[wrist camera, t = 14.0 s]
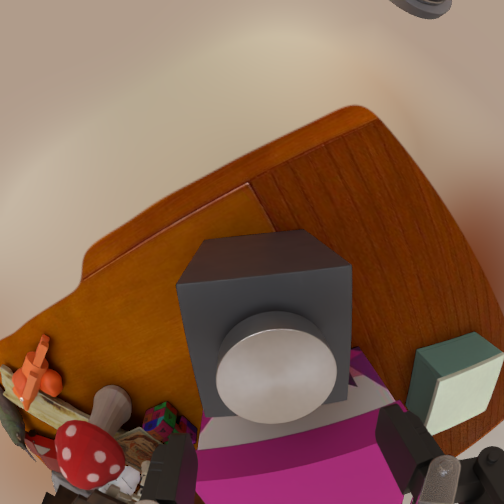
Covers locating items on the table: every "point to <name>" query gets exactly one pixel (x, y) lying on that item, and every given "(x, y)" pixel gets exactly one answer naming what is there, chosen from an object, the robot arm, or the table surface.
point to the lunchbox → (443, 367)
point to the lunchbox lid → (462, 394)
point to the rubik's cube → (166, 423)
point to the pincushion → (125, 481)
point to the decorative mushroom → (94, 441)
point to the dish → (275, 368)
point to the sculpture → (12, 421)
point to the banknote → (137, 447)
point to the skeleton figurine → (97, 494)
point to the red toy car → (43, 449)
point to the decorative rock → (68, 484)
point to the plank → (46, 405)
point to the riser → (263, 299)
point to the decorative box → (302, 452)
